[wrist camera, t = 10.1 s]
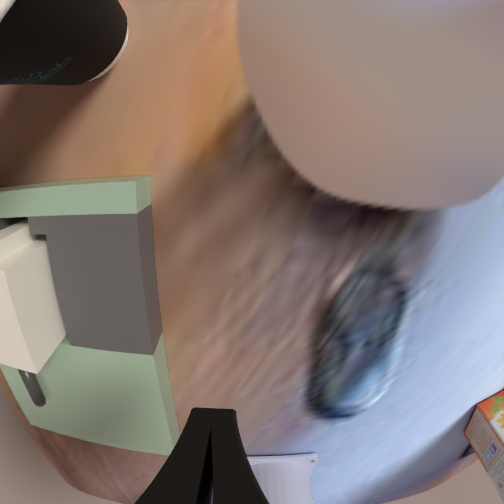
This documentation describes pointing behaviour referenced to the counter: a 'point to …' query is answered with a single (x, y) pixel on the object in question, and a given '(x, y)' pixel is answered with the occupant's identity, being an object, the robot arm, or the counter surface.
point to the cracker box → (489, 438)
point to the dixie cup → (60, 40)
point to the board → (99, 314)
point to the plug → (28, 306)
